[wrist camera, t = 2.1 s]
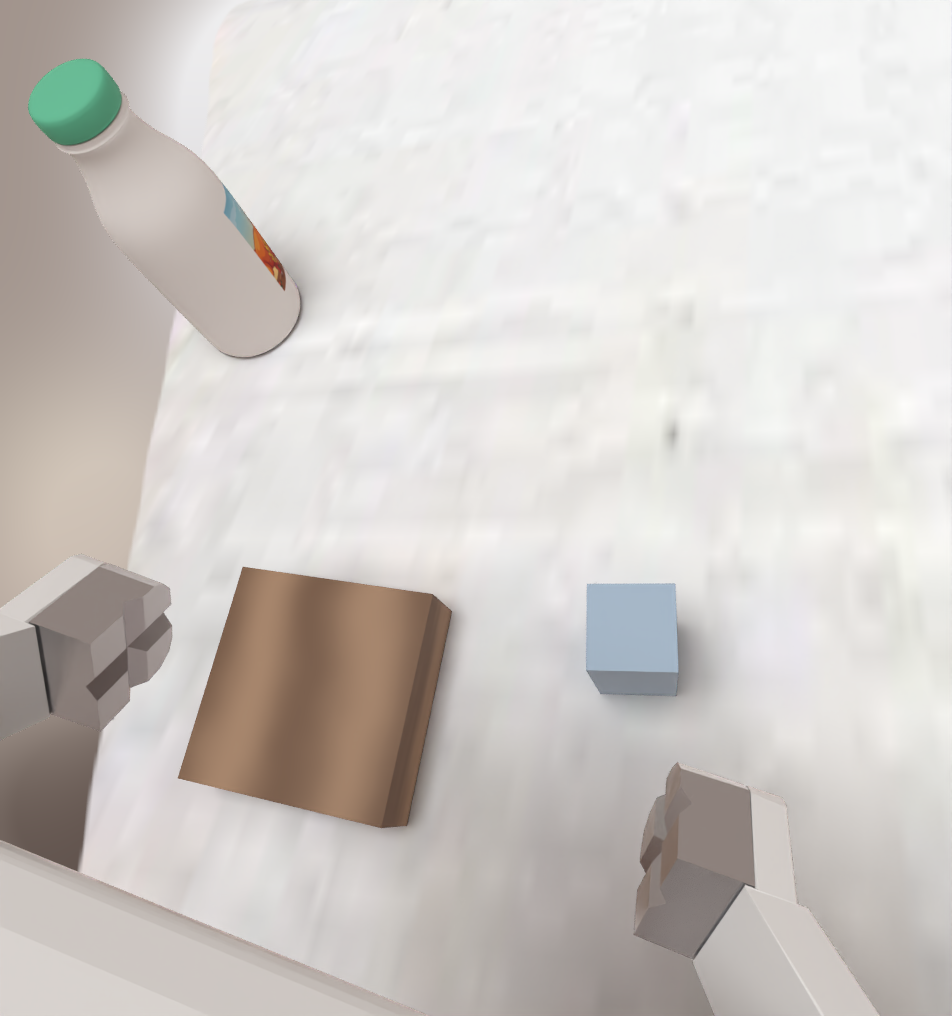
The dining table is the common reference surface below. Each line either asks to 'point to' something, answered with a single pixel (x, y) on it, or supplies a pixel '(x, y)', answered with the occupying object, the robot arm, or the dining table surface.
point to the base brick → (320, 696)
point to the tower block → (632, 638)
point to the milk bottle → (168, 213)
